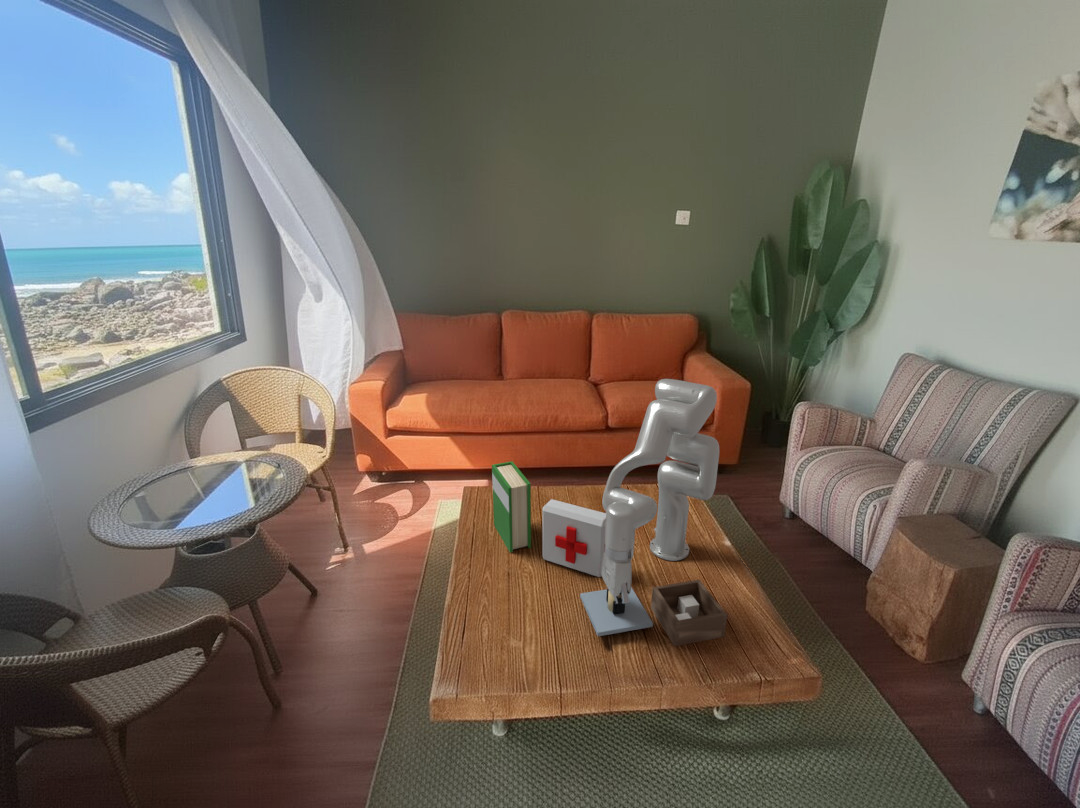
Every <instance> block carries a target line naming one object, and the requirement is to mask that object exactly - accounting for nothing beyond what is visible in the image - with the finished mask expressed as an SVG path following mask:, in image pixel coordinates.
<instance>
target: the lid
mask: <svg viewBox="0 0 1080 808" xmlns="http://www.w3.org/2000/svg"><path fill="white" fill-rule="evenodd" d="M606 597H607V589H601V590H594V591H587V592H581V593H580V594H579V599H580V600H581V603H582V604H583V607H584V609H585V612H586V614H587V615H588V617H589V620H590V623H591V624H592V627H593V629H594V632H595V634H596V635H597V637H601V636H607V635H613V634H620V633H625V632H629V631H630V632H631V631H635V630H636V631H637V630H641V629H642V630H643V629H647V628H652V627H653V626H654V623H653V621H652V619H651V618H650V616H649V614H648V612H647V611H646V609H645V608H644V606H643V604H642V603H641V601H640V599H639V597H638V596H637V594H636V592H635V591H634V589H633V588H632V586H631V591H630V594H628V600H629V603H625V612H624V613H621V614H615V615H614V614H613V601H615V597H614V596H613V595H612V594H611V593H610V591H609V592H608V602H607V601H606ZM618 598H622V594H621V595H618Z"/></svg>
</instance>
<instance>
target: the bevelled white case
mask: <svg viewBox="0 0 1080 808" xmlns="http://www.w3.org/2000/svg"><path fill="white" fill-rule="evenodd" d="M541 510H542V511H541V512H542V515H541V516H542V518H541V519H542V520H541V521H542V527H541V528H542V545H541V546H542V547H541V549H542V550H541V551H542V558H543V560H545V561H548V562H551V563H554V564H557V565H559V566H560V565H561V566H563V567H566V568H569V569H573V570H577V571H578V572H581V573H585V574H588V575H590V576H595V577H598V578H601V577H602V574H601V572H602V561H603V554H604V542H605V523H606V512H602V511H599V510H594V509H590V508H588V507H583V506H578V505H575V504H572V503H568V502H563V501H560V500H556V499H553V498H551V499H550V500H549V501H548V502H547V503H545V504H544V506H543V507H542V509H541Z"/></svg>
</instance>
